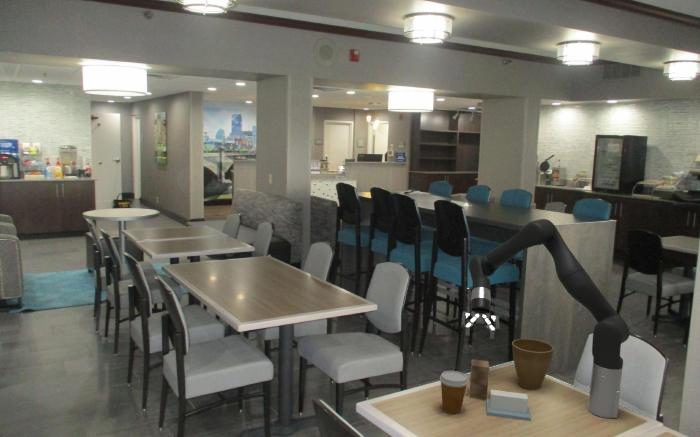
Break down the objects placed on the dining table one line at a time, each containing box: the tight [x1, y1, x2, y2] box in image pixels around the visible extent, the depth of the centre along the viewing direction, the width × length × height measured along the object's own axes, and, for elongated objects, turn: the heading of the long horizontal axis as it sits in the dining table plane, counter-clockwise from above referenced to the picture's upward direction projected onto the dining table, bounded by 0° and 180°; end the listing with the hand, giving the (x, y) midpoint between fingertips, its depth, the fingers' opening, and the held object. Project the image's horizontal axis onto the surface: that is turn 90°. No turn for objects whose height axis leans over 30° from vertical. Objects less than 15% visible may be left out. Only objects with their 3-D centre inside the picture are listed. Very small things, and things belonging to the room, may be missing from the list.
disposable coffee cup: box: [439, 370, 469, 414], centre depth 188 cm, size 10×10×12 cm
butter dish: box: [485, 389, 532, 421], centre depth 189 cm, size 14×10×6 cm
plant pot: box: [511, 338, 555, 390], centre depth 210 cm, size 15×15×16 cm
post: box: [468, 359, 490, 401], centre depth 200 cm, size 6×6×12 cm
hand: (479, 339), depth 210 cm, fingers open, 8 cm apart
